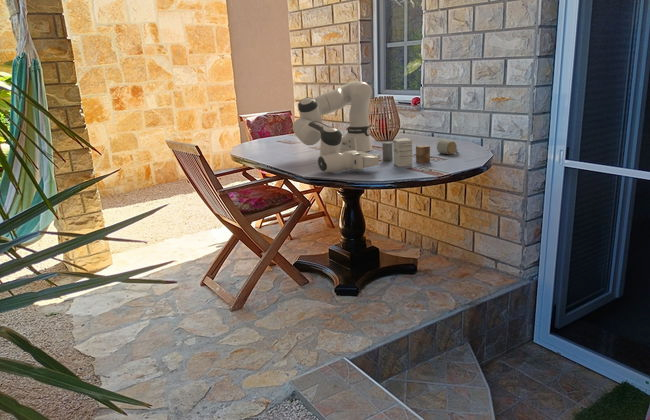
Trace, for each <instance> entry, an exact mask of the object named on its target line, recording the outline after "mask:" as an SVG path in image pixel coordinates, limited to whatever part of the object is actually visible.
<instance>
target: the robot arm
mask: <svg viewBox="0 0 650 420" xmlns="http://www.w3.org/2000/svg"><path fill="white" fill-rule="evenodd" d="M372 94H373V89H372V87H371V86H370V84H368V83H367V82H365V81H357V80H356V81H350V82H348V83H346V84H344V85H341V86H339V87H337V88H335V89H332V90H330V91H328V92H325V93H322V94H319V95H317V96H316V97H308V96H307V97H305V98H302V99H301V100H299V102H298V104H297V110H298V113H299V118H297V119H296V120H294V122H293V124H292V130H293V133H294V135H295V136H296V138H297V139H298V140H299V141H300V142H301V143H302V144H304V145H306V146H314V145H317V143H319V142H320V148H319V149H320V151H319V156H318V159H317V164H318V167H319V169H320V171H322V172H324V173H334V172H341V171H344V170H345V171H349V170H364V168H370V167H374V166H377V165H379V164H380V159H381V154H377V153H376V154H375V153H374V154H373V153H368V152H371V151H374V150H373V146H372V141H371V126H370V117H369V116H370V115H369V114H370V113H369V112H370V104H371V99H372V98H371V97H372V96H373V95H372ZM348 105H350V110H349V113H348V114H349V115H348V117H349V118H348V119H349V126H347V127H346V129H345V131H347V133H346V134H345V135H344V136H343V134H342V132H341V131H340V130H339V129H338V128H336V127H333V126H330V125H327V124H325V123H324V122H323V119H322V116H324V115H328V114H330V113H333V112H336V111H338V110H341V109H343V108H345V107H346V106H348Z"/></svg>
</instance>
